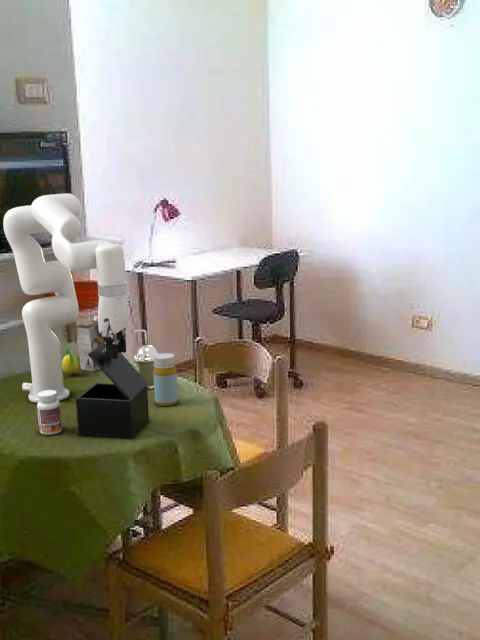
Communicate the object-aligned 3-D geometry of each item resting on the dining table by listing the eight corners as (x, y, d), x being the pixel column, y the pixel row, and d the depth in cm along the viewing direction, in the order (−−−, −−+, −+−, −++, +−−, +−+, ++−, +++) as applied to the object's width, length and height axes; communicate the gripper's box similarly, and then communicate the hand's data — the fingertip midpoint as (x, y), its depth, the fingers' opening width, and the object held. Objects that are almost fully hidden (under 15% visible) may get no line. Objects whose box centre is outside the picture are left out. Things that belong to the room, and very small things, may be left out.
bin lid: (87, 354, 207) (101, 341, 205) (107, 341, 220) (120, 328, 218) (128, 400, 207) (142, 388, 206) (146, 384, 220) (159, 372, 218)
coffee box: (97, 362, 281) (94, 319, 277) (111, 365, 278) (108, 321, 274) (80, 369, 274) (76, 325, 270) (93, 372, 270) (90, 327, 266)
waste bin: (78, 435, 213) (75, 398, 211) (98, 418, 226) (95, 382, 224) (132, 439, 210) (129, 401, 207) (149, 420, 223) (147, 385, 220)
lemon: (66, 372, 271) (64, 344, 269) (82, 372, 270) (80, 345, 268) (58, 378, 265) (56, 349, 262) (74, 378, 264) (72, 350, 261)
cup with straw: (164, 388, 250) (161, 328, 246) (137, 392, 247) (133, 331, 243) (158, 381, 258) (154, 322, 253) (131, 384, 255) (127, 325, 250)
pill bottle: (66, 430, 217) (63, 392, 214) (47, 437, 213) (43, 398, 210) (54, 425, 221) (51, 387, 219) (35, 431, 217) (31, 393, 215)
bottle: (174, 407, 233) (171, 359, 229) (152, 406, 234) (149, 358, 231) (180, 399, 240) (178, 352, 236) (159, 398, 241) (156, 352, 237)
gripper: (111, 283, 217) (115, 346, 221) (85, 296, 201) (90, 363, 205) (136, 284, 215) (140, 347, 220) (113, 297, 199) (117, 365, 204)
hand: (116, 354), depth 213 cm, fingers closed on bin lid, 5 cm apart
